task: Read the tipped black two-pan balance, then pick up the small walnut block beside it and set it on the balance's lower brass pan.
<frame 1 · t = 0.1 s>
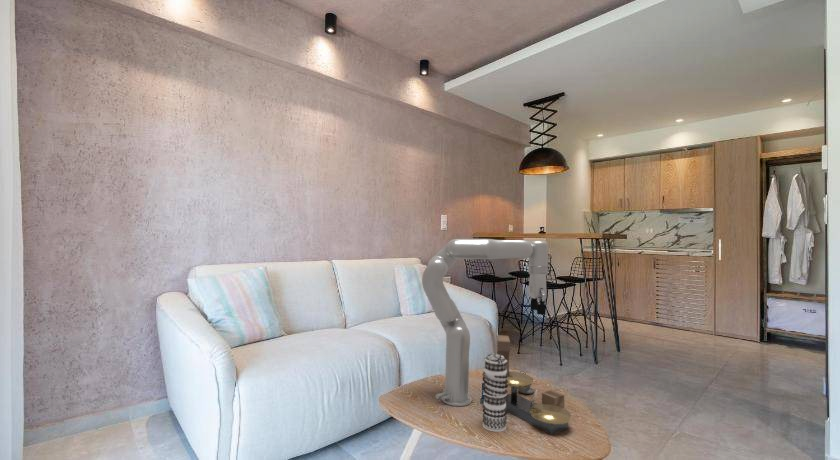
hand: (537, 311, 158), 37 cm above the table, tool pointing down, fingers open, 9 cm apart
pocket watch: (524, 392, 167), on the table
walnut block: (552, 409, 152), on the table
decorative candle: (494, 426, 137), on the table
balance: (530, 416, 144), on the table
decorative block: (502, 380, 181), on the table
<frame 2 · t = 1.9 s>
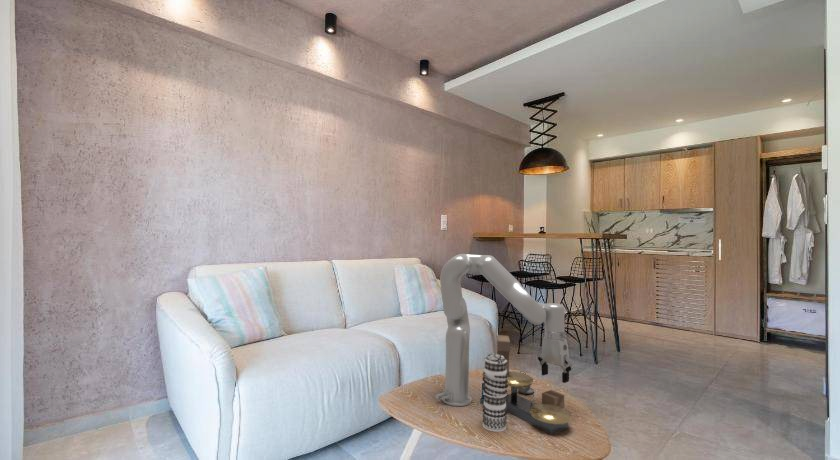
hand: (555, 378, 152), 12 cm above the table, tool pointing down, fingers open, 9 cm apart
nothing on the table moved.
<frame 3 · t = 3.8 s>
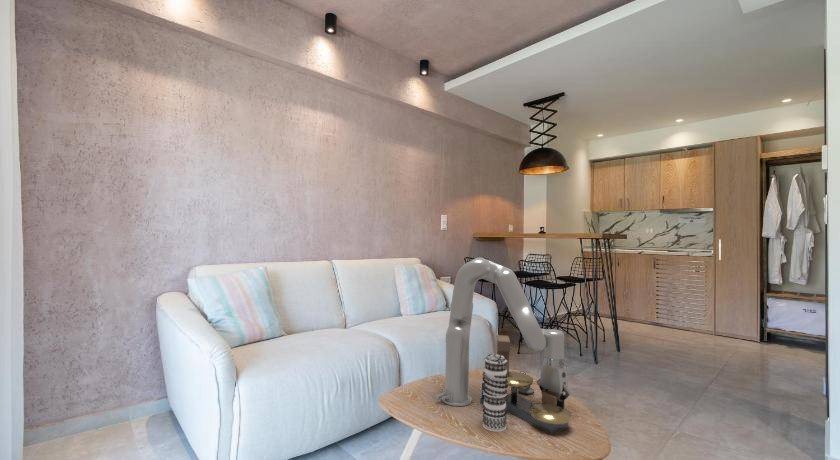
hand: (553, 406, 152), 1 cm above the table, tool pointing down, fingers closed on walnut block, 6 cm apart
walnut block: (552, 409, 152), on the table, touching gripper
everything else where it was.
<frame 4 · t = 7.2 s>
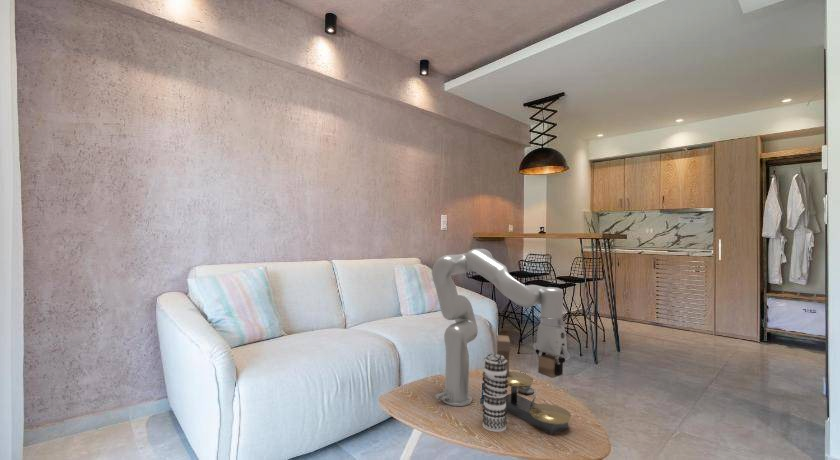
hand: (550, 371, 138), 20 cm above the table, tool pointing down, fingers closed on walnut block, 6 cm apart
walnut block: (550, 373, 138), point 19 cm above the table, touching gripper
everything else where it was.
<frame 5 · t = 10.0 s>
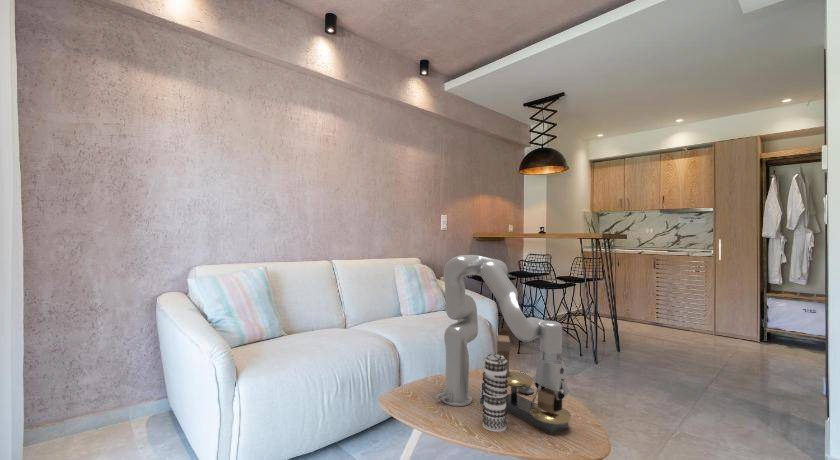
hand: (549, 405, 138), 7 cm above the table, tool pointing down, fingers closed on walnut block, 6 cm apart
walnut block: (549, 408, 138), point 6 cm above the table, touching gripper
everything else where it was.
when the fingers open (7 cm above the table, at t = 10.4 s): walnut block drops 1 cm, resting on balance.
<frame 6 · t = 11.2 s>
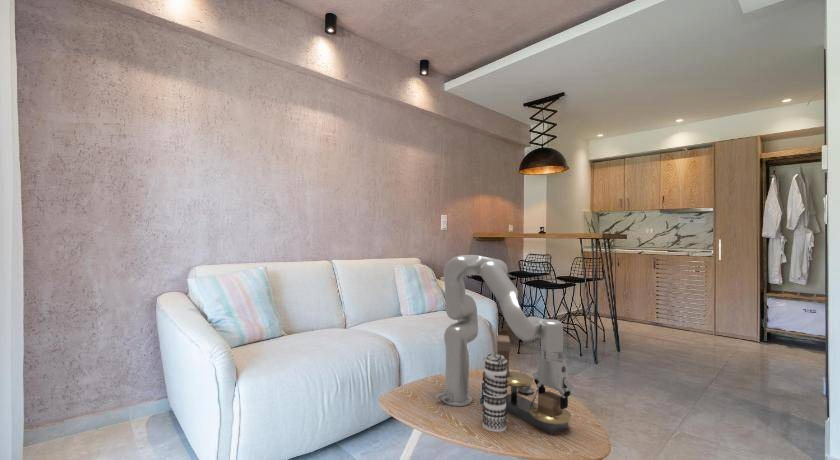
hand: (552, 403, 137), 8 cm above the table, tool pointing down, fingers open, 9 cm apart
walnut block: (550, 412, 137), point 5 cm above the table, touching balance
everything else where it was.
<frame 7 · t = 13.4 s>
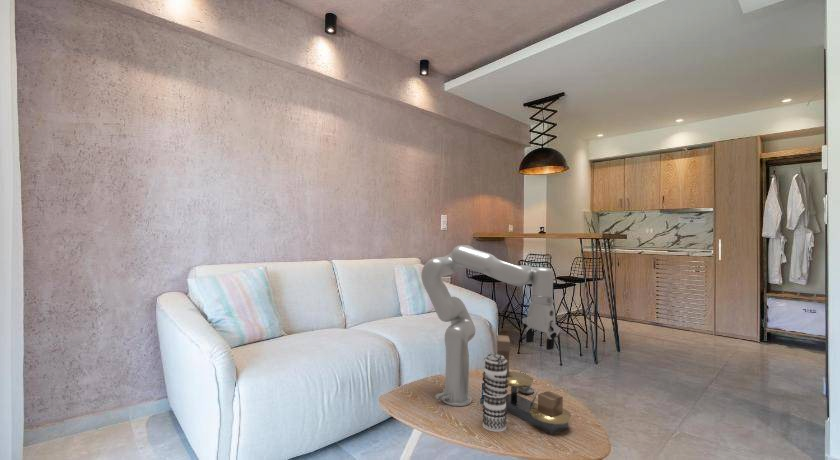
hand: (539, 345, 144), 27 cm above the table, tool pointing down, fingers open, 9 cm apart
nothing on the table moved.
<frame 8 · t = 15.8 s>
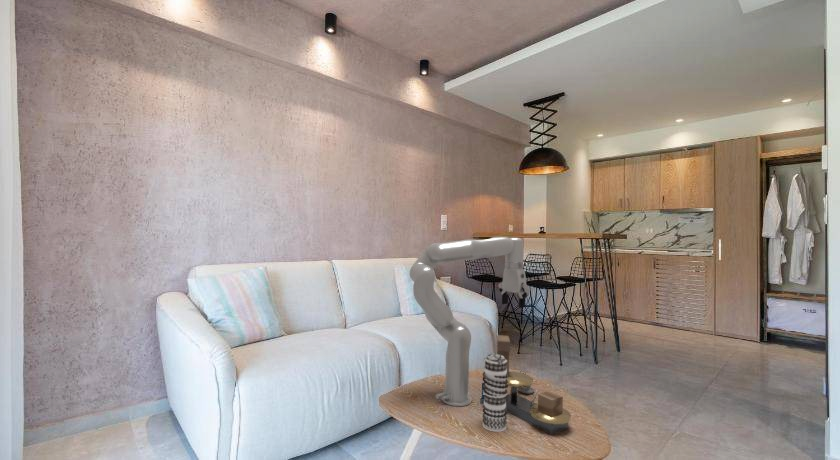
hand: (513, 305, 165), 38 cm above the table, tool pointing down, fingers open, 9 cm apart
nothing on the table moved.
at the end: walnut block inside the target area on the balance (0.1 cm from its centre), point 5.0 cm above the balance's base; walnut block tilted 0°; the gripper is holding nothing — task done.
